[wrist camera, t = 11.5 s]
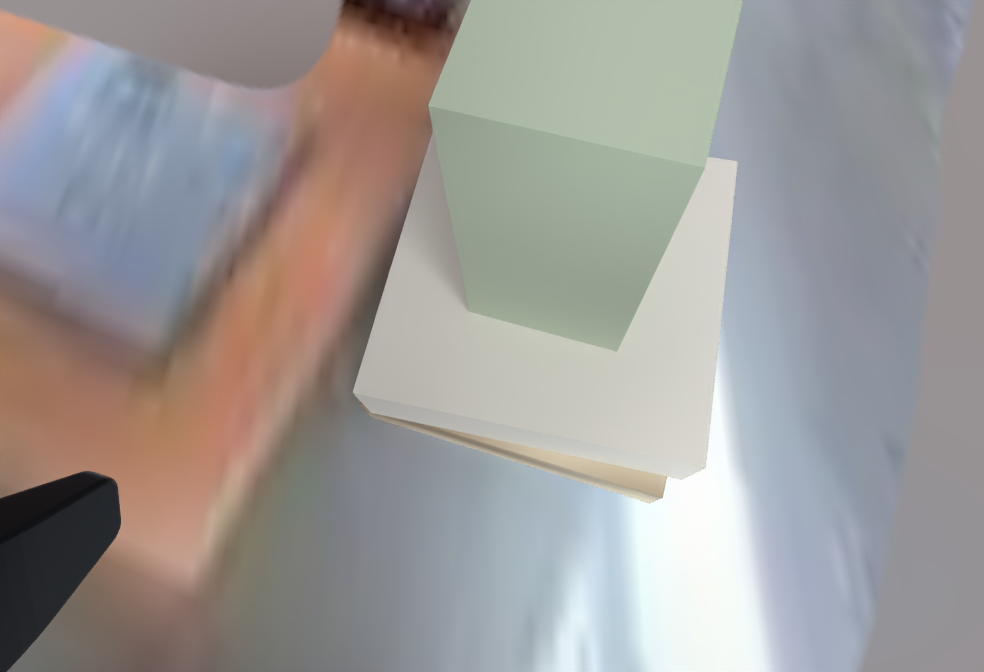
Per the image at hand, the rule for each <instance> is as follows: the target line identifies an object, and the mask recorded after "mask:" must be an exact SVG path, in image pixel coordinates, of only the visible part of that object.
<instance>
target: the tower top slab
mask: <svg viewBox="0 0 984 672" xmlns="http://www.w3.org/2000/svg"><path fill="white" fill-rule="evenodd" d="M737 163H738V162H737V161H730V160H724V159H718V158H712V157H707V162H706V166H705V169H704V171H703V173H702V175H701V178H700V180H699V182H698V184H697V186H696V188H695V190H694V192H693V194H692V196H691V198H690V201H689V203H688V205H687V207H686V209H685V211H684V213H683V215H682V217H681V219H680V221H679V224H678V226H677V228H676V230H675V232H674V234H673V236H672V238H671V240H670V242H669V244H668V247H667V249H666V251H665V253H664V255H663V257H662V259H661V261H660V263H659V265H658V267H657V270H656V272H655V274H654V276H653V278H652V280H651V282H650V284H649V286H648V288H647V290H646V293H645V295H644V297H643V299H642V301H641V303H640V305H639V307H638V309H637V311H636V313H635V316H634V318H633V320H632V322H631V324H630V326H629V328H628V330H627V332H626V334H625V336H624V339H623V341H622V343H621V345H620V347H619V349H618V351H617V352H616V351H613V350H609V349H605V348H602V347H598V346H594V345H591V344H587V343H583V342H579V341H576V340H572V339H568V338H565V337H561V336H557V335H553V334H550V333H546V332H542V331H539V330H535V329H531V328H528V327H524V326H520V325H516V324H513V323H509V322H505V321H502V320H498V319H494V318H490V317H487V316H483V315H479V314H476V313H472V312H469V309H468V304H467V299H466V294H465V289H464V284H463V279H462V274H461V269H460V264H459V259H458V254H457V249H456V244H455V239H454V234H453V229H452V224H451V219H450V214H449V209H448V204H447V199H446V194H445V189H444V184H443V179H442V174H441V169H440V164H439V159H438V153H437V148H436V143H435V138H434V133H433V131H432V135H431V138H430V141H429V145H428V148H427V151H426V154H425V158H424V161H423V164H422V167H421V171H420V174H419V177H418V180H417V184H416V187H415V190H414V193H413V197H412V200H411V203H410V207H409V210H408V213H407V216H406V220H405V223H404V226H403V229H402V233H401V236H400V239H399V242H398V246H397V249H396V252H395V255H394V259H393V262H392V265H391V269H390V272H389V275H388V278H387V282H386V285H385V288H384V291H383V295H382V298H381V301H380V304H379V308H378V311H377V314H376V318H375V321H374V324H373V327H372V331H371V334H370V337H369V340H368V344H367V347H366V350H365V353H364V357H363V360H362V363H361V366H360V370H359V373H358V376H357V380H356V383H355V386H354V389H353V394H354V395H355V396H356V397H357V398H358V399H359V400H360V401H361V403H362V404H363V405H364V406H365V407H366V408H367V409H368V410H369V411H370V412H371V413H374V414H379V415H384V416H388V417H393V418H397V419H402V420H407V421H411V422H416V423H421V424H425V425H430V426H435V427H439V428H444V429H449V430H453V431H458V432H462V433H467V434H472V435H476V436H481V437H486V438H490V439H495V440H500V441H504V442H509V443H514V444H518V445H523V446H527V447H532V448H537V449H541V450H546V451H551V452H555V453H560V454H565V455H569V456H574V457H579V458H583V459H588V460H592V461H597V462H602V463H606V464H611V465H616V466H620V467H625V468H630V469H634V470H639V471H643V472H648V473H653V474H657V475H662V476H667V477H671V478H676V479H681V480H682V479H684V478H686V477H688V476H690V475H692V474H694V473H696V472H698V471H700V470H702V469H704V468H706V459H707V450H708V440H709V431H710V421H711V412H712V402H713V392H714V383H715V373H716V364H717V354H718V345H719V335H720V326H721V316H722V306H723V297H724V287H725V278H726V268H727V259H728V249H729V240H730V230H731V220H732V211H733V201H734V192H735V182H736V173H737Z"/></svg>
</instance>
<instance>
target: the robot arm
mask: <svg viewBox="0 0 984 672" xmlns="http://www.w3.org/2000/svg"><path fill="white" fill-rule="evenodd" d="M120 525H121V514H120V504H119V494H118V486H117V483H116V482H115V480H114V479H112V478H110V477H107V476H104V475H101V474H98V473H95V472H91V471H84V472H80V473H77V474H74V475H70V476H67V477H64V478H61V479H58V480H55V481H52V482H49V483H46V484H43V485H40V486H37V487H34V488H31V489H28V490H24V491H21V492H18V493H15V494H12V495H9V496H6V497H3V498H0V672H7V671H8V670H9V669H10V668H11V666H12V665H13V664H14V663H15V662H16V661H17V660H18V659H19V658H20V657H21V656H22V655H23V653H24V652H25V651H26V650H27V649H28V648H29V647H30V646H31V644H32V643H33V642H34V641H35V640H36V639H37V638H38V637H39V635H40V634H41V633H42V632H43V630H44V629H45V628H46V627H47V626H48V624H49V623H50V622H51V621H52V619H53V618H54V617H55V616H56V614H57V613H58V612H59V610H60V609H61V608H62V607H63V605H64V604H65V603H66V601H67V600H68V599H69V598H70V596H71V595H72V594H73V592H74V591H75V590H76V588H77V587H78V586H79V585H80V583H81V582H82V581H83V579H84V578H85V577H86V576H87V574H88V573H89V572H90V570H91V569H92V568H93V566H94V565H95V564H96V563H97V561H98V560H99V559H100V557H101V556H102V555H103V554H104V552H105V551H106V550H107V548H108V547H109V546H110V544H111V543H112V542H113V540H114V539H115V537H116V536H117V534H118V532H119V529H120Z"/></svg>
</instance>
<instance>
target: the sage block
mask: <svg viewBox="0 0 984 672" xmlns="http://www.w3.org/2000/svg"><path fill="white" fill-rule="evenodd" d="M742 2H743V0H471V2H470V4H469V6H468V9H467V11H466V14H465V16H464V19H463V21H462V24H461V26H460V28H459V31H458V33H457V36H456V38H455V41H454V43H453V46H452V48H451V50H450V53H449V55H448V58H447V60H446V63H445V65H444V68H443V70H442V72H441V75H440V77H439V80H438V82H437V85H436V87H435V90H434V92H433V94H432V97H431V99H430V102H429V104H428V108H429V113H430V118H431V123H432V128H433V133H434V138H435V143H436V148H437V153H438V159H439V164H440V169H441V174H442V179H443V184H444V189H445V194H446V199H447V204H448V209H449V214H450V219H451V224H452V229H453V234H454V239H455V244H456V249H457V254H458V259H459V264H460V269H461V274H462V279H463V284H464V289H465V294H466V299H467V304H468V309H469V312H472V313H476V314H479V315H483V316H487V317H490V318H494V319H498V320H502V321H505V322H509V323H513V324H516V325H520V326H524V327H528V328H531V329H535V330H539V331H542V332H546V333H550V334H553V335H557V336H561V337H565V338H568V339H572V340H576V341H579V342H583V343H587V344H591V345H594V346H598V347H602V348H605V349H609V350H613V351H616V352H617V351H618V349H619V347H620V345H621V343H622V341H623V339H624V336H625V334H626V332H627V330H628V328H629V326H630V324H631V322H632V320H633V318H634V316H635V313H636V311H637V309H638V307H639V305H640V303H641V301H642V299H643V297H644V295H645V293H646V290H647V288H648V286H649V284H650V282H651V280H652V278H653V276H654V274H655V272H656V270H657V267H658V265H659V263H660V261H661V259H662V257H663V255H664V253H665V251H666V249H667V247H668V244H669V242H670V240H671V238H672V236H673V234H674V232H675V230H676V228H677V226H678V224H679V221H680V219H681V217H682V215H683V213H684V211H685V209H686V207H687V205H688V203H689V201H690V198H691V196H692V194H693V192H694V190H695V188H696V186H697V184H698V182H699V180H700V178H701V175H702V173H703V171H704V169H705V166H706V162H707V157H708V153H709V148H710V144H711V139H712V135H713V131H714V126H715V122H716V117H717V113H718V108H719V104H720V100H721V95H722V91H723V86H724V82H725V77H726V73H727V68H728V64H729V60H730V55H731V51H732V46H733V42H734V37H735V33H736V29H737V24H738V20H739V15H740V11H741V6H742Z"/></svg>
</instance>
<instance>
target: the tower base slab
mask: <svg viewBox="0 0 984 672" xmlns="http://www.w3.org/2000/svg"><path fill="white" fill-rule="evenodd" d="M359 405H360V406H361V407H362V408H363V409H364V410H365V411H366V412H367V413H368V415H369V416H370V417H372V418H375V419H379V420H382V421H385V422H388V423H391V424H395V425H398V426H401V427H404V428H408V429H411V430H414V431H417V432H421V433H424V434H427V435H430V436H433V437H437V438H440V439H443V440H446V441H450V442H453V443H456V444H459V445H463V446H466V447H469V448H472V449H475V450H479V451H482V452H485V453H488V454H492V455H495V456H498V457H501V458H505V459H508V460H511V461H514V462H518V463H521V464H524V465H527V466H530V467H534V468H537V469H540V470H543V471H547V472H550V473H553V474H556V475H560V476H563V477H566V478H569V479H572V480H576V481H579V482H582V483H585V484H589V485H592V486H595V487H598V488H602V489H605V490H608V491H611V492H615V493H618V494H621V495H624V496H627V497H631V498H634V499H637V500H640V501H644V502H647V503H651V502H654V501H656V500H658V499H661V498H663V493H664V489H665V484H666V479H667V476H662V475H657V474H653V473H648V472H643V471H639V470H634V469H630V468H625V467H620V466H616V465H611V464H606V463H602V462H597V461H592V460H588V459H583V458H579V457H574V456H569V455H565V454H560V453H555V452H551V451H546V450H541V449H537V448H532V447H527V446H523V445H518V444H514V443H509V442H504V441H500V440H495V439H490V438H486V437H481V436H476V435H472V434H467V433H462V432H458V431H453V430H449V429H444V428H439V427H435V426H430V425H425V424H421V423H416V422H411V421H407V420H402V419H397V418H393V417H388V416H384V415H379V414H374V413H371V412H370V411H369V410H368V409H367V408H366V407H365V406H364V405H363V404H362V403H361V401H360V403H359Z"/></svg>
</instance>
